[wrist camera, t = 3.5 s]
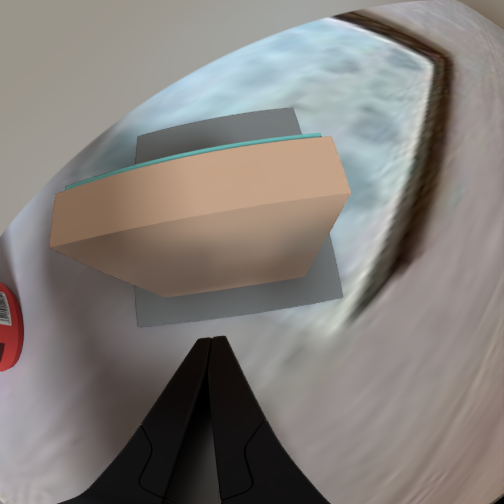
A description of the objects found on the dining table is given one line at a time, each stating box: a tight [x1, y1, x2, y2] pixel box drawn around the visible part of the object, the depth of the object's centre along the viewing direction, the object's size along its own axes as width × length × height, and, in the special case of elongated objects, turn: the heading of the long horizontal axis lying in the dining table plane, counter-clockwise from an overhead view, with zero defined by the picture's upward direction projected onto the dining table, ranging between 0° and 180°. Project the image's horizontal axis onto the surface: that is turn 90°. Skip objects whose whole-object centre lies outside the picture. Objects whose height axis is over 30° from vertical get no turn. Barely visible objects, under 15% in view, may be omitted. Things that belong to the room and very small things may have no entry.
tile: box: [49, 133, 351, 297], centre depth 11 cm, size 2×8×10 cm, turn 99°
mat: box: [134, 108, 343, 327], centre depth 18 cm, size 14×12×1 cm
